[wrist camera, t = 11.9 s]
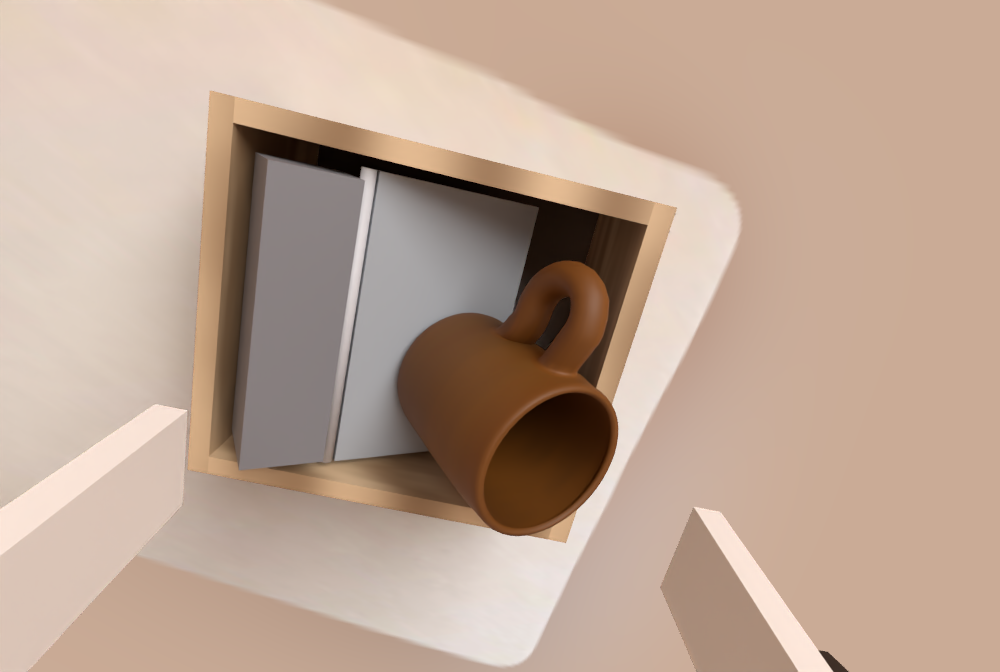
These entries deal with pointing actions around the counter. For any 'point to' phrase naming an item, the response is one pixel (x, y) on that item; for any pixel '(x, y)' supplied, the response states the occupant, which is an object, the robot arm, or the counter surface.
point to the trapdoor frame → (295, 136)
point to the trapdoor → (356, 302)
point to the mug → (516, 403)
